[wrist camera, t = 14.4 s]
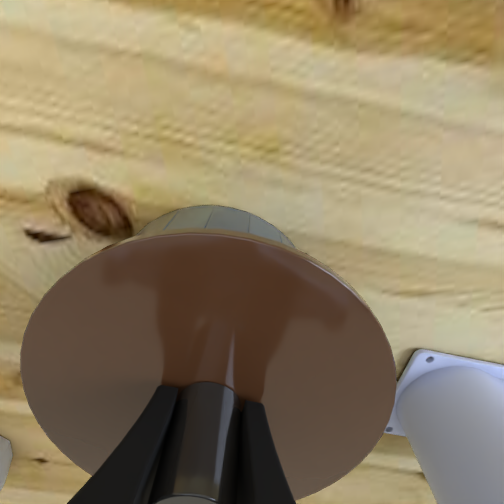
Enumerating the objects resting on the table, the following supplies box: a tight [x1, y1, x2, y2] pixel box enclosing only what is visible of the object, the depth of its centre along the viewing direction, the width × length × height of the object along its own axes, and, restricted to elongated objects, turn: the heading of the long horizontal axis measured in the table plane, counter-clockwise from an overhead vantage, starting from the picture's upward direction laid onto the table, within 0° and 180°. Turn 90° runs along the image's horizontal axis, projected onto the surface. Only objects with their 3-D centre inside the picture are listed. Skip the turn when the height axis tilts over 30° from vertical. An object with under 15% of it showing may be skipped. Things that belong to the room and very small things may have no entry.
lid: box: [20, 228, 397, 504], centre depth 10 cm, size 13×13×5 cm
